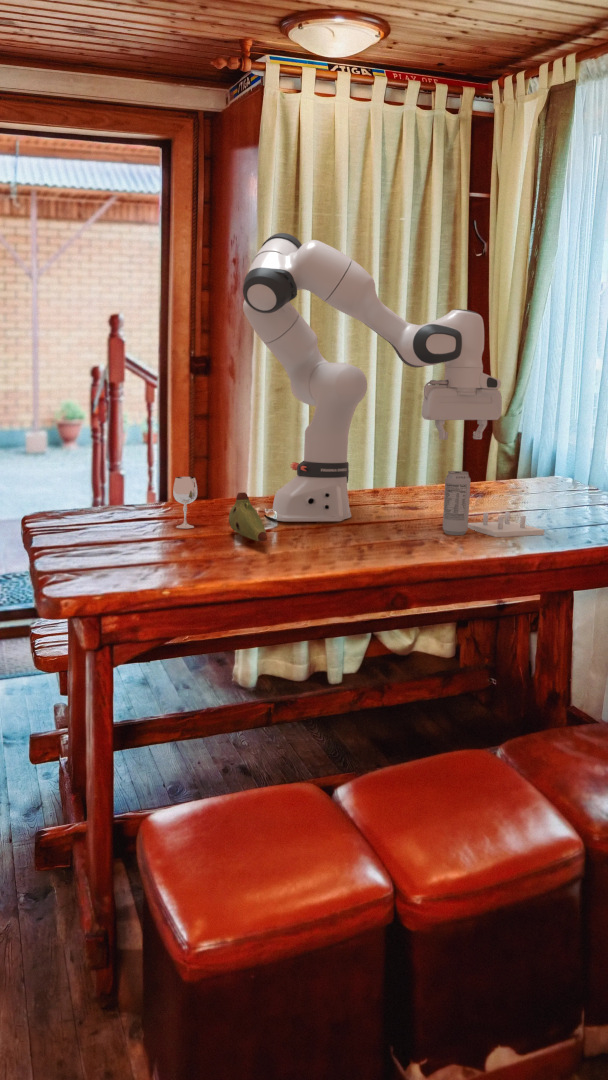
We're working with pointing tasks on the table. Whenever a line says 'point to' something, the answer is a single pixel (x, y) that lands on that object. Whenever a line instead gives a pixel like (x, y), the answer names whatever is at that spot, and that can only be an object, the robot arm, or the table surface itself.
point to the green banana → (246, 519)
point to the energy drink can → (456, 503)
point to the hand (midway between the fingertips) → (460, 439)
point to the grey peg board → (505, 527)
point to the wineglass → (185, 494)
